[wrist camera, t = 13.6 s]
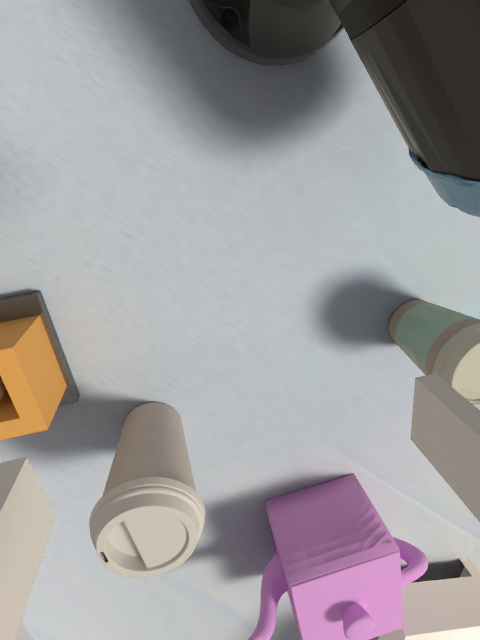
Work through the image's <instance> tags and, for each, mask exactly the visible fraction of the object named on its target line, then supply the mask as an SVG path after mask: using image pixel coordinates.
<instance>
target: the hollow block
mask: <svg viewBox="0 0 480 640" xmlns="http://www.w3.org/2000/svg"><path fill="white" fill-rule="evenodd" d="M0 376H1V378H2V380H3V382H4V385H5V387H6V389H7V391H6V392H5V394H4V395H3V397H2V398H1V400H0V440H4V439H9V438H13V437H18V436H22V435H27V434H31V433H36V432H40V431H45V430H48V428H49V426H50V424H51V422H52V419H53V417H54V415H55V412H56V410H57V408H58V406H59V403H60V401H61V399H62V396H63V394H64V392H65V390H66V387H67V385H66V382H65V380H64V377H63V375H62V372H61V369H60V367H59V364H58V361H57V359H56V356H55V354H54V351H53V348H52V346H51V343H50V340H49V338H48V335H47V333H46V330H45V327H44V325H43V322H42V320H41V317H40V315H37V316H31V317H26V318H21V319H16V320H10V321H5V322H0Z"/></svg>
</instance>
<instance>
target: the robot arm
mask: <svg viewBox="0 0 480 640" xmlns="http://www.w3.org/2000/svg"><path fill="white" fill-rule="evenodd" d="M190 2H191V4H192V6H193V8H194V10H195V12H196V13H197V15H198V17H199V18H200V20H201V21H202V23H203V24H204V26H205V27H206V28H207V29H208V31H209V32H210V33H211V34H212V35H213V36H214V37H215V38H216V39H217V40H218V41H219V42H220V43H221V44H222V45H223V46H225V47H226V48H227V49H229V50H230V51H231V52H233V53H235V54H236V55H238V56H240V57H242V58H244V59H246V60H249V61H252V62H255V63H259V64H265V65H284V64H289V63H293V62H297V61H299V60H302V59H304V58H306V57H308V56H310V55H312V54H314V53H315V52H317V51H318V50H319V49H321V48H322V47H323V46H325V45H326V44H328V43H329V42H330V41H331V40H332V39H334V38H335V37H336V36H337V35H338V34H339V33H340V32H341V31H342V30H343V28H345V30H346V32H347V34H348V36H349V38H350V40H351V42H352V44H353V46H354V48H355V50H356V51H357V53H358V55H359V57H360V59H361V61H362V62H363V64H364V66H365V68H366V70H367V72H368V74H369V75H370V77H371V79H372V81H373V83H374V85H375V86H376V88H377V90H378V92H379V94H380V96H381V97H382V99H383V101H384V103H385V105H386V107H387V109H388V110H389V112H390V114H391V116H392V118H393V120H394V121H395V123H396V125H397V127H398V129H399V131H400V133H401V134H402V136H403V138H404V140H405V142H406V144H407V145H408V147H409V155H410V157H411V159H412V161H413V162H414V164H415V165H416V166H417V167H418V168H419V169H420V170H422V171H423V172H424V173H425V174H426V176H427V177H428V179H429V181H430V182H431V184H432V185H433V187H434V188H435V190H436V192H437V193H438V195H439V196H440V197H441V198H442V199H443V200H444V201H445V202H446V203H447V204H448V205H450V206H452V207H455V208H458V209H460V210H461V211H462V212H465V213H467V214H470V215H473V216H478V217H480V0H190ZM411 440H412V441H413V442H414V444H415V445H416V446H417V447H418V448H419V450H420V451H421V452H422V453H423V454H424V456H425V457H426V458H427V459H428V460H429V462H430V463H431V464H432V465H433V466H434V468H435V469H436V470H437V471H438V472H439V474H440V475H441V476H442V477H443V478H444V480H445V481H446V482H447V483H448V484H449V486H450V487H451V488H452V489H453V490H454V492H455V493H456V494H457V495H458V496H459V498H460V499H461V500H462V501H463V502H464V504H465V505H466V506H467V507H468V508H469V510H470V511H471V512H472V513H473V514H474V516H475V517H476V518H477V519H478V520H479V522H480V410H479V409H478V408H476V407H475V406H474V405H473V404H472V403H470V402H469V401H468V400H467V399H466V398H464V397H463V396H462V395H461V394H460V393H458V392H457V391H456V390H455V389H454V388H452V387H451V386H450V385H449V384H448V383H447V382H445V381H444V380H443V379H442V378H441V377H439V376H438V375H437V374H432V375H427V376H422V377H417V378H415V389H414V402H413V415H412V428H411ZM54 519H55V516H54V514H53V512H52V510H51V508H50V506H49V504H48V502H47V499H46V497H45V495H44V493H43V491H42V489H41V487H40V485H39V482H38V480H37V478H36V476H35V474H34V472H33V470H32V468H31V465H30V463H29V461H28V459H27V457H26V458H21V459H16V460H12V461H7V462H2V463H1V465H0V640H15V638H16V635H17V632H18V629H19V626H20V623H21V620H22V617H23V614H24V611H25V608H26V605H27V602H28V598H29V595H30V592H31V589H32V586H33V583H34V580H35V577H36V574H37V571H38V568H39V565H40V562H41V559H42V556H43V553H44V550H45V546H46V543H47V540H48V537H49V534H50V531H51V528H52V525H53V522H54Z"/></svg>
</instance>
